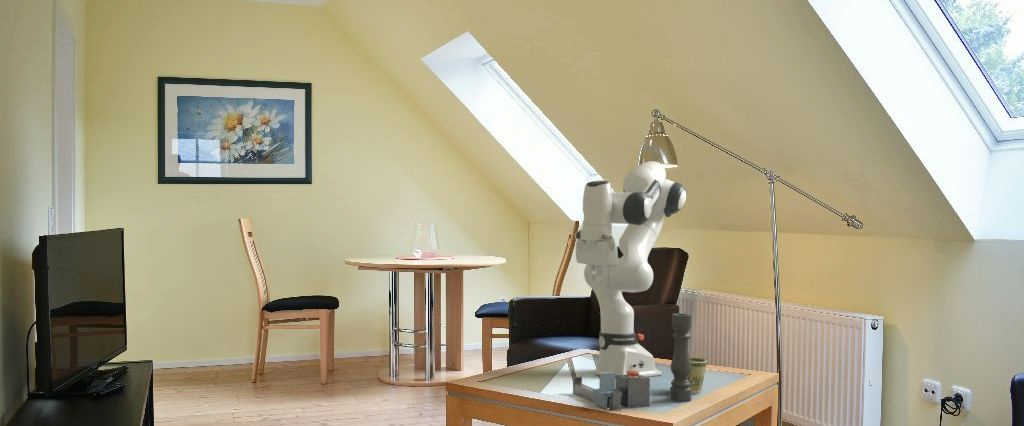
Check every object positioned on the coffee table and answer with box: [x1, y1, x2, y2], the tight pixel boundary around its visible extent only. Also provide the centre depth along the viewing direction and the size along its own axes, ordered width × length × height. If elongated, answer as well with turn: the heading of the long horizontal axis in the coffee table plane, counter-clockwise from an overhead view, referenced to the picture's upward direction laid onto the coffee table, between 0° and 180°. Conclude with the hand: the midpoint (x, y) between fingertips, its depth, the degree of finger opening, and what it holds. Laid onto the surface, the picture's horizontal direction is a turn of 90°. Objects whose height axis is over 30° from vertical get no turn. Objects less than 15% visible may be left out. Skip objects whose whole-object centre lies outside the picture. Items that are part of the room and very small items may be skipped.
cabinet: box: [615, 374, 651, 409], centre depth 253 cm, size 7×7×8 cm
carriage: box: [593, 372, 622, 409], centre depth 250 cm, size 6×6×9 cm
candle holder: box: [669, 312, 693, 403], centre depth 260 cm, size 6×6×25 cm
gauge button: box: [627, 371, 639, 378], centre depth 253 cm, size 3×3×6 cm
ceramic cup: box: [688, 356, 708, 395], centre depth 273 cm, size 13×10×10 cm
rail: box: [572, 376, 621, 411], centre depth 256 cm, size 2×24×5 cm, turn 23°
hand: (596, 280), depth 267 cm, fingers closed
